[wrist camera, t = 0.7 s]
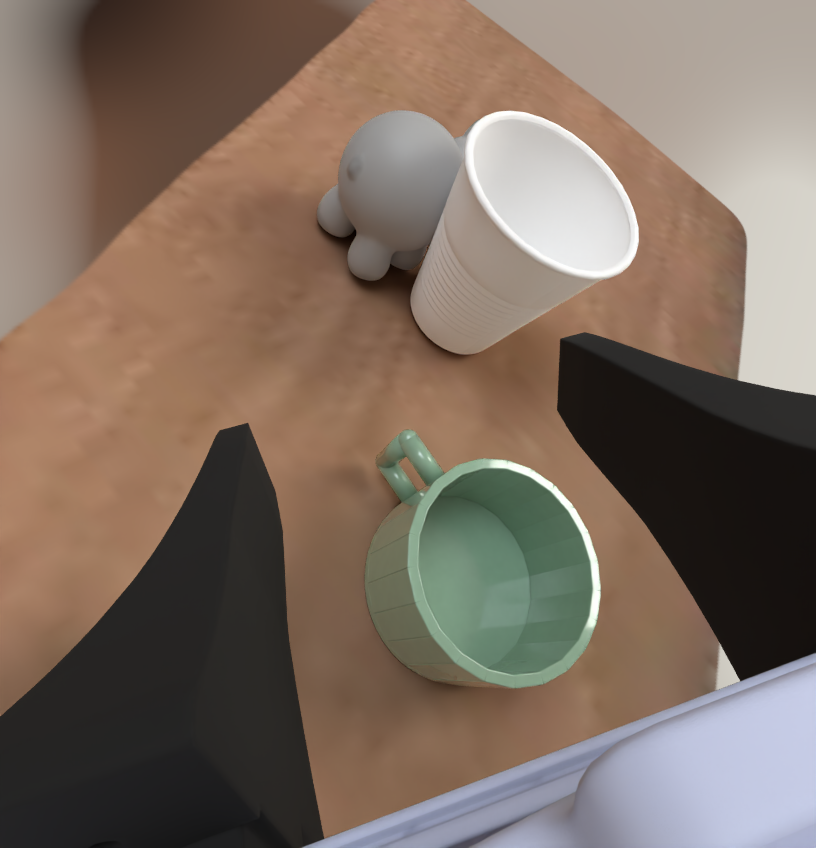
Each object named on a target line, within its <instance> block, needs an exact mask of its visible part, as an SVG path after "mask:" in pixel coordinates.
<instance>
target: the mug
mask: <svg viewBox="0 0 816 848" xmlns="http://www.w3.org/2000/svg"><path fill="white" fill-rule="evenodd" d="M405 457H407V458H408V459H409V461H410V462H411V464H412V465H413V467H414V468H415V470H416V471H417V472H418V474H419V475H420V477H421V478H422V480H423V481H424V483H425V484H426V485H427V486H425V487H424V488H422V489H421V490H419V491H417V489H416V488H415V486H414V485H413V483H412V482H411V480H410V479H409V477H408V476H407V475H406V473H405V472H404V470H403V469H402V467H401V466H400V464H399V462H400V461H401V460H402V459H404V458H405ZM375 462H376V466H377V467H378V469H379V470H380V472H381V473H382V475H383V476H384V478H385V479H386V480H387V482H388V483H389V485H390V486H391V488H392V489H393V491H394V492H395V494H396V495H397V497H398V498H399V499H400V501H401V502H402V503H400V504H399V505H398V506H396V507H395V508H394V509H393V510H392V511H391V512H390V513H389V514H388V515H387V516H386V517H385V519H384V520H383V521H382V523H381V524H380V526H379V527H378V529H377V531H376V533H375V535H374V537H373V539H372V541H371V544H370V547H369V550H368V555H367V559H366V565H365V593H366V599H367V604H368V608H369V611H370V615H371V618H372V620H373V623H374V625H375V627H376V630H377V632H378V633H379V635H380V637H381V639H382V640H383V642H384V643H385V645H386V646H387V647H388V649H389V650H390V651H391V653H392V654H393V655H394V656H395V657H396V658H397V659H398V660H399V661H400V662H401V663H403V664H404V665H405V666H407V667H408V668H409V669H410V670H412V671H414V672H415V673H417V674H419V675H421V676H422V677H425V678H427V679H430V680H433V681H436V682H441V683H445V684H453V685H458V686H475V687H493V688H511V689H517V688H524V687H531V686H539V685H542V684H545V683H547V682H549V681H551V680H552V679H554V678H556V677H558V676H559V675H561V674H563V673H565V672H566V671H567V670H569V669H570V667H571V666H572V665H573V664H574V663H575V661H576V660H577V659H578V658H579V657H580V655H581V654H582V653H583V652H584V651H585V648H587V645H588V643H589V640H590V638H591V636H592V633H593V631H594V628H595V626H596V623H597V622H596V621H597V619H598V612H599V604H600V596H601V592H600V591H601V586H600V576H599V566H598V562H597V561H598V560H597V557H596V554H595V551H594V547H593V544H592V541H591V538H590V535H589V533H588V530H587V529H586V527H585V525H584V523H583V522H582V520H581V518H580V516H579V515H578V513H577V511H576V509H575V508H574V507H573V505H572V504H571V503H570V502H569V500H568V499H567V498H566V497H565V496H564V495H563V494H562V493H561V492H560V490H559V489H558V488H557V487H556V486H555V485H554V484H553V483H551V482H550V481H548V480H547V479H545V478H544V477H543V476H541V475H540V474H538V473H537V472H535V471H534V470H532V469H531V468H528V467H525V466H522V465H520V464H517V463H514V462H511V461H509V460H501V459H483V458H482V459H477V460H473V461H470V462H466V463H463V464H459V465H457V466H455V467H453V468H452V469H450V470H449V471H447V472H446V473H444V472H443V470H442V469H441V467H440V466H439V464H438V463H437V462H436V460H435V459H434V457H433V456H432V454H431V453H430V452H429V450H428V449H427V447H426V446H425V444H424V443H423V442H422V440H421V439H420V437H419V436H418V434H417V433H416V432H415V431H413V430H410V429H407V430H403V431H402V432H401V433H400V434H399V435H398V436H397V437H396V438H395V439H393V440H392V441H391V442H390V443H389V444H388V445H387V446H386V447H385V448H384V449H383V450H382V451H381V452H380V453H379V454H378V455H377V457H376V460H375Z"/></svg>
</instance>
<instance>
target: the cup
mask: <svg viewBox="0 0 816 848" xmlns="http://www.w3.org/2000/svg"><path fill="white" fill-rule="evenodd" d="M638 243H639V234H638V225H637V220H636V215H635V212H634V210H633V207H632V204H631V202H630V199H629V197H628V196H627V194H626V192H625V190H624V188H623V186H622V185H621V183H620V182H619V180H618V179H617V177H616V176H615V175H614V173H613V172H612V170H611V169H610V168H609V167H608V166H607V165H606V164H605V162H604V161H603V160H602V159H601V158H600V157H599V156H598V155H597V154H596V153H595V152H594V151H593V150H592V149H591V148H590V147H589V146H588V145H586V144H585V143H584V142H583V141H581V140H580V139H579V138H577V137H576V136H575V135H573V134H572V133H570V132H569V131H567V130H565V129H564V128H562V127H560V126H559V125H557V124H555V123H553V122H551V121H548V120H546V119H544V118H542V117H539V116H535V115H532V114H528V113H525V112H517V111H501V112H495V113H492V114H490V115H487V116H484V117H483V118H482V119H481V120H479V121H478V122H477V123H475V124H474V126H473V127H472V129H471V130H470V132H469V134H468V135H467V139H466V143H465V147H464V158H463V160H462V163H461V165H460V168H459V171H458V173H457V176H456V178H455V181H454V183H453V186H452V188H451V191H450V194H449V196H448V199H447V201H446V205H445V207H444V209H443V213H442V215H441V217H440V221H439V222H438V225H437V228H436V230H435V233H434V235H433V238H432V241H431V242H430V246H429V248H428V250H427V253H426V255H425V259H424V260H423V263H422V266H421V267H420V270H419V273H418V275H417V278H416V280H415V283H414V285H413V288H412V292H411V301H410V304H411V309H412V313H413V316H414V318H415V321H416V322H417V324H418V326H419V327H420V329H421V330H422V331H423V332H424V334H425V335H426V336H427V337H428V338H429V339H431V340H432V341H433V342H434V343H435V344H437V345H439V346H440V347H442V348H444V349H446V350H448V351H450V352H454V353H458V354H475V353H478V352H481V351H483V350H485V349H486V348H488V347H490V346H491V345H493V344H495V343H497V342H498V341H500V340H502V339H503V338H504V337H506V336H508V335H509V334H511V333H513V332H514V331H516V330H518V329H519V328H521V327H523V326H524V325H526V324H527V323H530V322H531V321H532V320H534V319H536V318H537V317H539V316H541V315H543V314H544V313H546V312H548V311H549V310H550V309H553V308H555V307H556V306H557V305H560V304H562V303H563V302H565V301H567V300H568V299H570V298H572V297H573V296H575V295H577V294H578V293H580V292H582V291H583V290H585V289H587V288H588V287H590V286H592V285H593V284H595V283H597V282H598V281H600V280H605V279H608V278H611V277H613V276H616V275H619V274H620V273H621V272H622V271H624V270H625V269H626V268H627V267H628V266H629V265H630V263H631V262H632V260H633V259H634V257H635V255H636V251H637V247H638Z"/></svg>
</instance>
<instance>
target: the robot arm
mask: <svg viewBox="0 0 816 848" xmlns="http://www.w3.org/2000/svg"><path fill="white" fill-rule="evenodd" d="M557 411H558V412H559V414H560V416H561V417H562V419H563V421H564V423H565V424H566V426H567V428H568V429H569V431H570V432H571V434H572V435H573V437H574V438H575V440H576V442H577V443H578V444H579V446H580V447H581V448H582V449H583V450H584V452H585V453H586V454H587V455H588V456H589V458H590V459H591V460H592V461H593V462H594V464H595V465H596V466H597V467H598V468H599V469H600V471H601V472H602V473H603V474H604V475H605V476H606V478H607V479H608V480H609V481H610V482H611V483H612V485H613V486H614V487H615V488H616V489H617V490H618V492H619V493H620V494H621V495H622V496H623V497H624V499H625V500H626V501H627V502H628V503H629V504H630V506H631V507H632V508H633V509H634V510H635V512H636V513H637V514H638V515H639V517H640V518H641V519H642V521H643V522H644V523H645V524H646V526H647V527H648V529H649V530H650V532H651V533H652V535H653V536H654V538H655V539H656V541H657V542H658V543H659V545H660V546H661V548H662V549H663V551H664V552H665V554H666V555H667V557H668V558H669V560H670V561H671V563H672V564H673V566H674V568H675V569H676V571H677V572H678V574H679V576H680V577H681V579H682V580H683V582H684V583H685V585H686V587H687V588H688V590H689V591H690V593H691V594H692V596H693V598H694V599H695V601H696V603H697V605H698V606H699V608H700V610H701V611H702V613H703V615H704V616H705V618H706V620H707V622H708V623H709V625H710V627H711V628H712V630H713V632H714V633H715V635H716V637H717V639H718V641H719V642H720V644H721V646H722V648H723V650H724V652H725V654H726V655H727V657H728V659H729V661H730V663H731V665H732V666H733V668H734V670H735V672H736V674H737V676H738V678H739V679H740V682H737V683H735V684H732V685H730V686H727V687H724V688H722V689H719V690H716V691H714V692H711V693H708V694H706V695H703V696H700V697H698V698H695V699H692V700H690V701H687V702H685V703H682V704H679V705H677V706H674V707H671V708H669V709H666V710H663V711H661V712H658V713H656V714H653V715H650V716H648V717H645V718H642V719H640V720H637V721H634V722H632V723H629V724H626V725H624V726H621V727H619V728H616V729H613V730H611V731H608V732H605V733H603V734H600V735H597V736H595V737H592V738H590V739H587V740H584V741H582V742H579V743H576V744H574V745H571V746H568V747H566V748H563V749H561V750H558V751H555V752H553V753H550V754H547V755H545V756H542V757H539V758H537V759H534V760H531V761H529V762H526V763H524V764H521V765H518V766H516V767H513V768H510V769H508V770H505V771H502V772H500V773H497V774H495V775H492V776H489V777H487V778H484V779H481V780H479V781H476V782H473V783H471V784H468V785H465V786H463V787H460V788H458V789H455V790H452V791H450V792H447V793H444V794H442V795H439V796H436V797H434V798H431V799H429V800H426V801H423V802H421V803H418V804H415V805H413V806H410V807H407V808H405V809H402V810H400V811H397V812H394V813H392V814H389V815H386V816H384V817H381V818H378V819H376V820H373V821H370V822H368V823H365V824H363V825H360V826H357V827H355V828H352V829H349V830H347V831H344V832H341V833H339V834H336V835H334V836H331V837H328V838H326V839H324V836H323V831H322V825H321V820H320V815H319V810H318V805H317V800H316V795H315V789H314V784H313V779H312V773H311V768H310V762H309V757H308V751H307V746H306V740H305V735H304V729H303V723H302V717H301V711H300V706H299V700H298V694H297V688H296V682H295V675H294V669H293V662H292V656H291V650H290V643H289V634H288V624H287V606H286V586H285V565H284V547H283V530H282V525H281V519H280V513H279V508H278V503H277V497H276V492H275V489H274V487H273V484H272V482H271V479H270V477H269V474H268V472H267V469H266V467H265V464H264V462H263V459H262V457H261V454H260V452H259V449H258V447H257V444H256V442H255V439H254V437H253V434H252V432H251V429H250V427H249V424H248V423H246V424H242V425H238V426H235V427H231V428H227V429H224V430H220V431H219V432H218V434H217V435H216V437H215V439H214V441H213V444H212V446H211V448H210V450H209V453H208V455H207V457H206V459H205V461H204V464H203V466H202V468H201V470H200V472H199V474H198V476H197V478H196V480H195V482H194V484H193V486H192V488H191V490H190V492H189V494H188V496H187V498H186V500H185V501H184V503H183V505H182V507H181V509H180V510H179V512H178V514H177V515H176V517H175V519H174V520H173V522H172V524H171V526H170V527H169V529H168V531H167V532H166V534H165V536H164V537H163V539H162V540H161V542H160V543H159V545H158V546H157V548H156V550H155V551H154V552H153V554H152V555H151V557H150V558H149V560H148V561H147V562H146V564H145V565H144V567H143V568H142V569H141V571H140V572H139V573H138V575H137V576H136V577H135V579H134V580H133V581H132V582H131V584H130V585H129V586H128V587H127V588H126V590H125V591H124V592H123V593H122V594H121V596H120V597H119V598H118V599H117V600H116V601H115V603H114V604H113V605H112V606H111V607H110V609H109V610H108V611H107V612H106V613H105V614H104V616H103V617H102V618H101V619H100V620H99V621H98V623H97V624H96V625H95V626H94V627H93V628H92V629H91V630H90V631H89V632H88V633H87V634H86V635H85V637H84V638H83V639H82V640H81V641H80V642H79V643H78V644H77V645H76V646H75V647H74V648H73V649H72V650H71V651H70V652H69V653H68V654H67V655H66V656H65V657H64V658H63V659H62V660H61V661H60V662H59V663H58V664H57V665H56V666H55V667H54V668H53V669H52V670H51V671H50V672H49V673H48V674H47V675H46V676H45V677H44V678H43V679H42V680H40V681H39V682H38V683H37V684H36V685H35V686H34V687H33V688H32V689H31V690H29V691H28V692H27V693H26V694H25V695H24V696H23V697H22V698H21V699H19V700H18V701H17V702H16V703H15V704H14V705H13V706H12V707H11V708H9V709H8V710H7V711H6V712H5V713H4V714H3V715H2V716H0V848H816V396H815V395H809V394H803V393H795V392H791V391H785V390H779V389H774V388H770V387H765V386H761V385H756V384H751V383H747V382H742V381H738V380H734V379H730V378H726V377H723V376H719V375H716V374H712V373H709V372H705V371H702V370H698V369H695V368H692V367H688V366H685V365H682V364H679V363H676V362H673V361H670V360H667V359H664V358H661V357H658V356H655V355H652V354H650V353H647V352H644V351H641V350H638V349H635V348H632V347H630V346H627V345H624V344H621V343H618V342H615V341H612V340H609V339H606V338H603V337H600V336H597V335H593V334H589V333H585V332H584V333H580V334H577V335H573V336H569V337H565V338H562V339H560V358H559V381H558V403H557Z"/></svg>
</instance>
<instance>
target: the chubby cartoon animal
mask: <svg viewBox="0 0 816 848" xmlns="http://www.w3.org/2000/svg"><path fill="white" fill-rule="evenodd" d="M479 120H481V119H479ZM479 120H477V121H476V122H474V123H473V124H472V125H471V126H470V127H469V128H468V130H467V131H466V132H465V134H464V135H463V136H461V137H457V138H453V137H452V136H451V134H450V133H449V132H448V131H447V130H446V129H445V128H444V127H443V126H442V125H441V124H439V123H438V122H437V121H435V120H434V119H432V118H430V117H428V116H426V115H424V114H421V113H418V112H413V111H404V110H399V111H391V112H387V113H383V114H381V115H378V116H376V117H374V118H372V119H371V120H369V121H368V122H366V123H365V124H364V125H363V126H361V127H360V128H359V129H358V130H357V131H356V132H355V134H354V135H353V136H352V138H351V139H350V141H349V142H348V144H347V146H346V148H345V150H344V152H343V155H342V158H341V162H340V166H339V173H338V184H337V185H336V186H334V187H333V188H331V189H330V190H329V191H328V192H327V193H326V194H325V195H324V197H323V198H322V200H321V201H320V203H319V206H318V209H317V219H318V222H319V224H320V225H321V226H322V227H323V229H325V230H326V231H327V232H328V233H330V234H332V235H334V236H337V237H346V236H348V235H350V234H351V233H352V232H353V231H354V230H355V229H356V231H357V234H356V237H355V239H354V240H353V242H352V244H351V246H350V248H349V251H348V256H347V261H348V266H349V269H350V271H351V272H352V273H353V274H354V275H355V276H357V277H359V278H361V279H364V280H370V281H373V280H378V279H380V278H382V277H383V276H384V275H385V274H386V272H387V270H388V268H389V266H390V263H391V264H392V265H393V266H395V267H397V268H399V269H403V270H411V269H413V268H415V267H416V266H417V265H418V264H419V263H420V262H421V260H422V259H423V257H424V254H425V252H426V248H427V246H428V245H430V242H431V241H432V238H433V235H434V233H435V230H436V228H437V225H438V222H439V221H440V217H441V215H442V213H443V209H444V207H445V205H446V201H447V199H448V196H449V194H450V191H451V188H452V186H453V183H454V181H455V178H456V176H457V173H458V171H459V168H460V165H461V163H462V160H463V158H464V147H465V143H466V139H467V135H468V134H469V132H470V130H471V129H472V127H473V126H474V124H475V123H477V122H478V121H479Z"/></svg>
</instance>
